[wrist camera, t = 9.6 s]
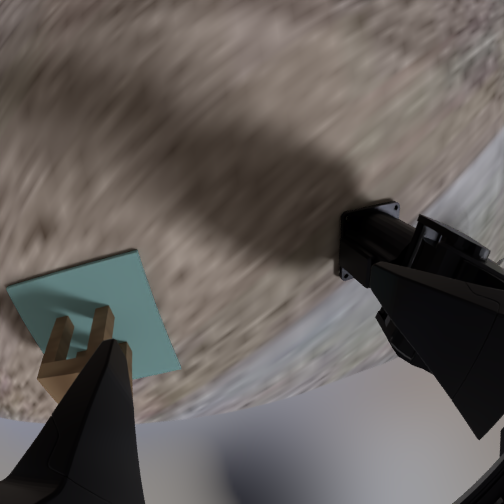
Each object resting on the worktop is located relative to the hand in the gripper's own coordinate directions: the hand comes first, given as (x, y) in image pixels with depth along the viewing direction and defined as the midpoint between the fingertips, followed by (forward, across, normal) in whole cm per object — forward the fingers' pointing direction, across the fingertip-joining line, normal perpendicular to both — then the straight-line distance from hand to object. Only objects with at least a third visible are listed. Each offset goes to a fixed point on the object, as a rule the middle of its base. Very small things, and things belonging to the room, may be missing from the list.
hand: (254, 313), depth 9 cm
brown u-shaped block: (+12, +11, +8) cm, 18 cm away
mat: (+12, +11, +8) cm, 18 cm away
